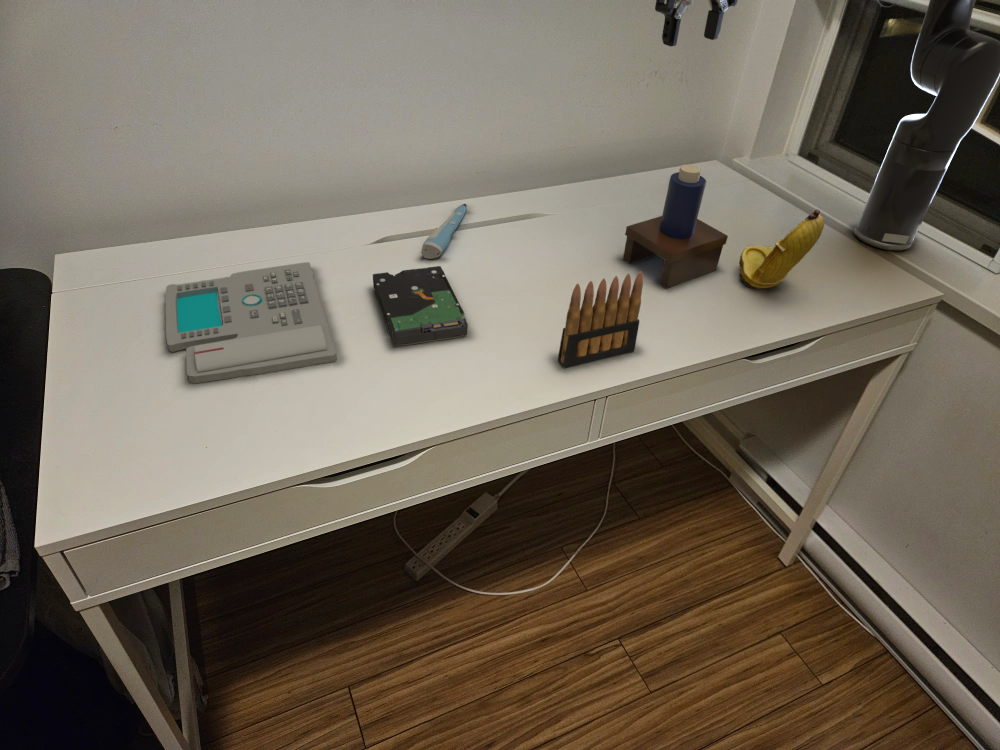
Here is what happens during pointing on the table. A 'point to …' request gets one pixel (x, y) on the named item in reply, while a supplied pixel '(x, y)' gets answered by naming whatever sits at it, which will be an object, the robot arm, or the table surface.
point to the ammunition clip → (601, 322)
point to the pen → (442, 234)
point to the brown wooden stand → (675, 250)
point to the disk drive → (419, 306)
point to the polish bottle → (682, 202)
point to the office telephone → (248, 323)
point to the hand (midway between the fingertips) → (690, 41)
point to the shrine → (779, 254)
